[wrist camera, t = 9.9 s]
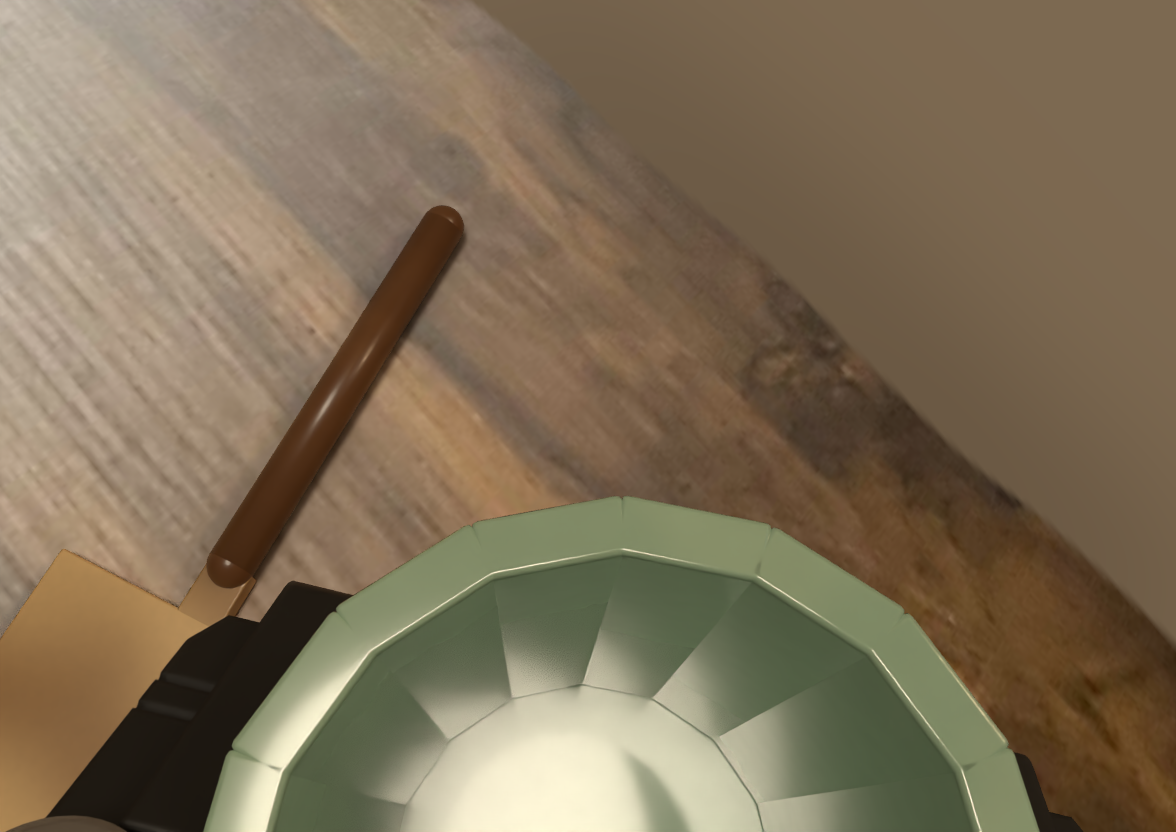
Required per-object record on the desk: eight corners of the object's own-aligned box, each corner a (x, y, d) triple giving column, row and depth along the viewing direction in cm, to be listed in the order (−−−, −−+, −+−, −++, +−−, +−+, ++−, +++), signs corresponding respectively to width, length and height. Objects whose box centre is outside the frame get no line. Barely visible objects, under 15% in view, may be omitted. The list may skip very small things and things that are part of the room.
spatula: (133, 1069, 24) (114, 1080, 23) (-164, 896, 25) (-196, 899, 24) (576, 277, 32) (578, 257, 31) (334, 166, 33) (327, 142, 32)
